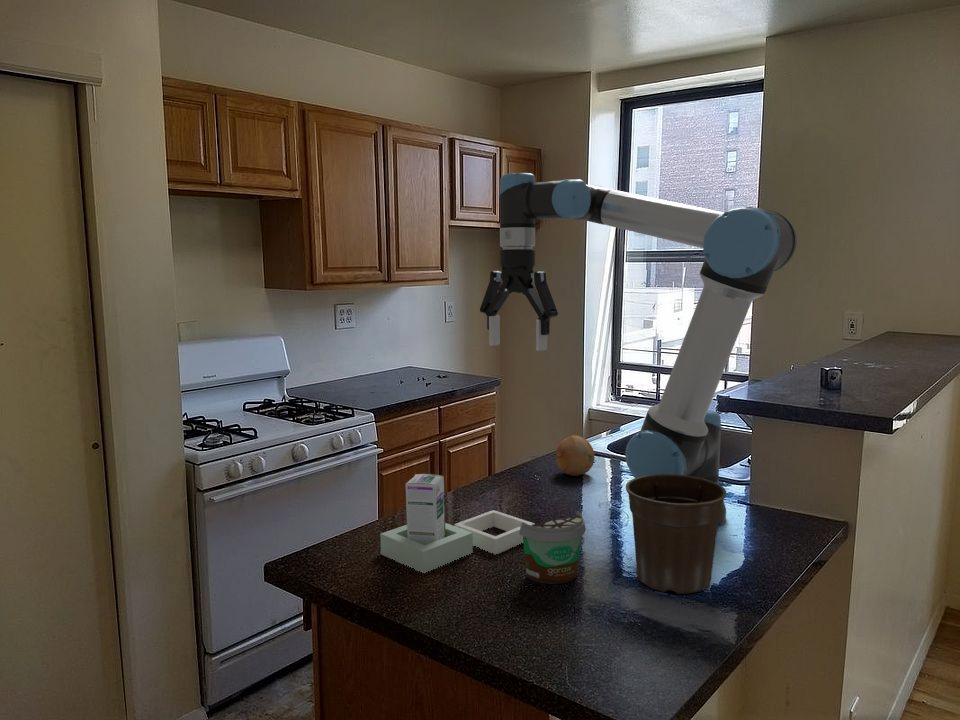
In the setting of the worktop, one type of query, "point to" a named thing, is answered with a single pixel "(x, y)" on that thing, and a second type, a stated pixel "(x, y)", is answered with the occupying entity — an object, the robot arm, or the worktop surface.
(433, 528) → the syrup box
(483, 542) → the frame
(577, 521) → the food container
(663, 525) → the plant pot
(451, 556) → the socket
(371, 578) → the worktop surface
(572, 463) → the onion
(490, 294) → the robot arm
